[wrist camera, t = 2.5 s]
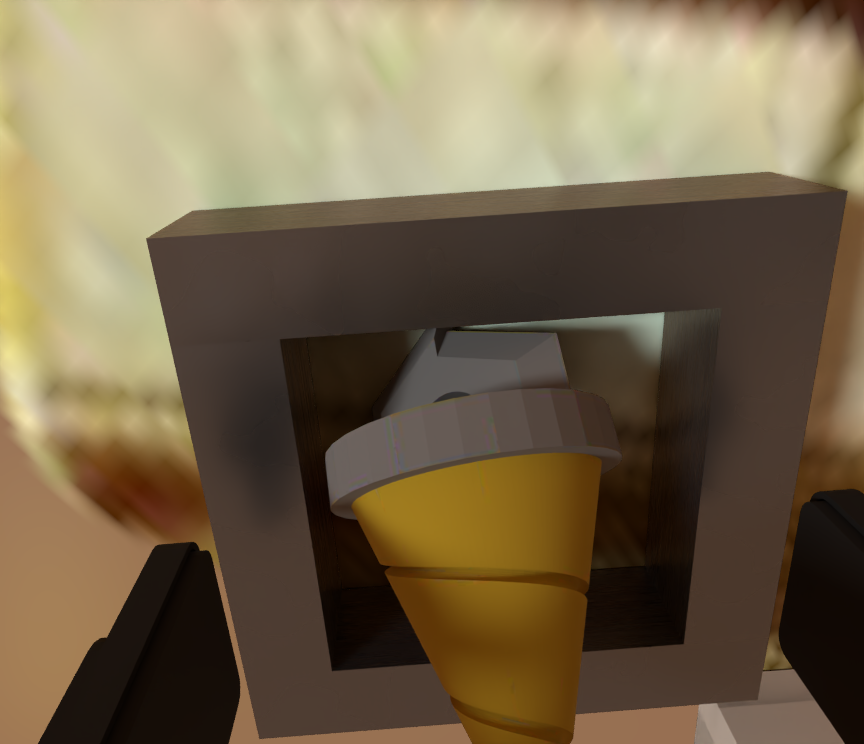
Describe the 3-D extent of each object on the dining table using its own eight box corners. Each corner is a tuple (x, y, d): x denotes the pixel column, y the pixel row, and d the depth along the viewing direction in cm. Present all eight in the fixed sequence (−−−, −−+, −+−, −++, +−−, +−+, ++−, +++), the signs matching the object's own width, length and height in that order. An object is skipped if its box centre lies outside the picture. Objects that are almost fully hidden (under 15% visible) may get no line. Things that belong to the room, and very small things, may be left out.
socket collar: (768, 172, 13) (847, 190, 11) (710, 618, 17) (757, 700, 15) (192, 210, 13) (146, 238, 11) (278, 651, 17) (259, 738, 15)
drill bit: (618, 285, 14) (780, 835, 11) (429, 372, 17) (508, 824, 14) (463, 193, 10) (640, 1019, 7) (252, 328, 13) (302, 947, 10)
